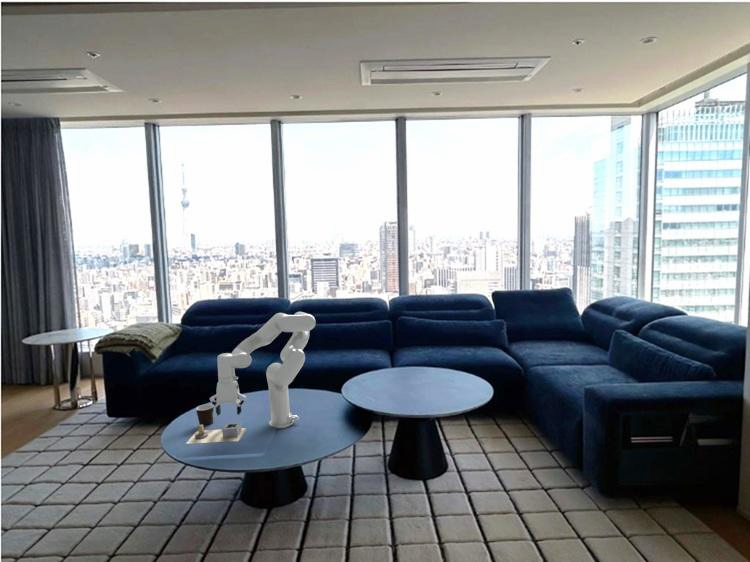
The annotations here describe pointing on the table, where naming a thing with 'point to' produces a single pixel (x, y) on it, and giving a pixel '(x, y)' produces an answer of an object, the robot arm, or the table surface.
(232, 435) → the collar
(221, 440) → the stand board
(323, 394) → the table surface
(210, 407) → the coffee mug
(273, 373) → the robot arm
